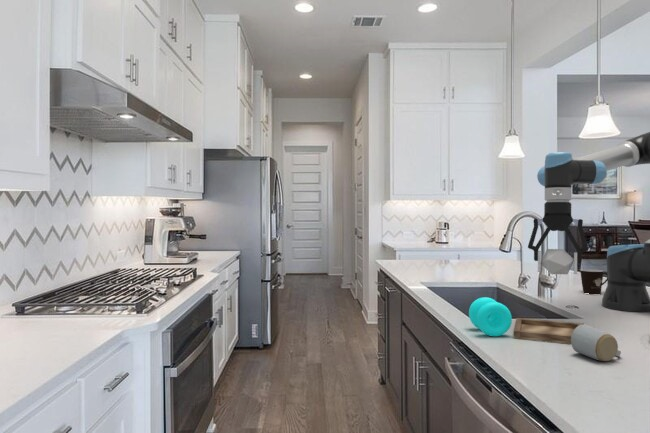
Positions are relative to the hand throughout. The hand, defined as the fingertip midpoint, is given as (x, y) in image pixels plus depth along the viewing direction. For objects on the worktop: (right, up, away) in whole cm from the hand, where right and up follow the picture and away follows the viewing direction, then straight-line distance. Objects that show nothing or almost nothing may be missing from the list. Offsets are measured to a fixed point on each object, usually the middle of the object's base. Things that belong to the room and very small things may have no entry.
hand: (557, 272), depth 137 cm
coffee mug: (+43, -16, +49) cm, 67 cm away
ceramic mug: (-6, -17, -30) cm, 35 cm away
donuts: (-24, -17, -8) cm, 31 cm away
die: (0, -1, 0) cm, 1 cm away
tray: (-8, -17, -10) cm, 21 cm away
